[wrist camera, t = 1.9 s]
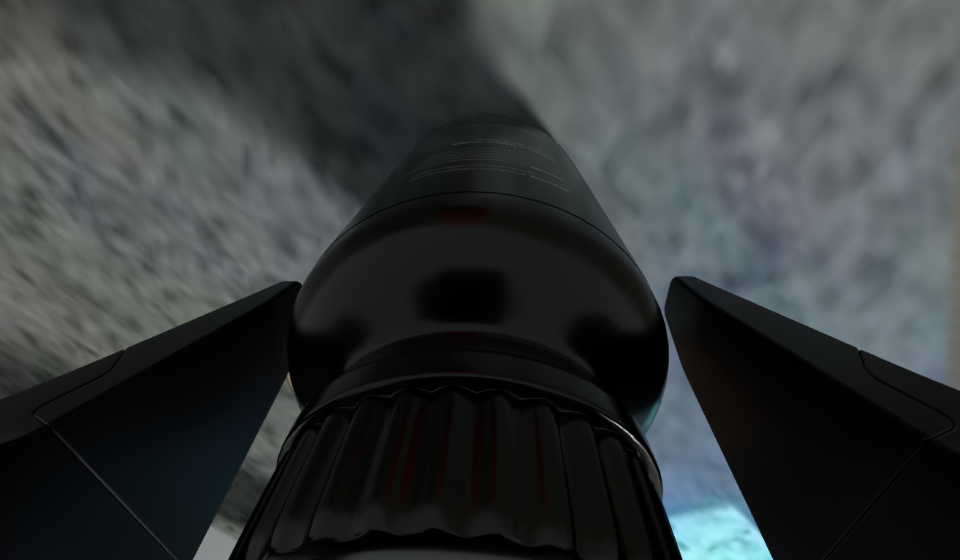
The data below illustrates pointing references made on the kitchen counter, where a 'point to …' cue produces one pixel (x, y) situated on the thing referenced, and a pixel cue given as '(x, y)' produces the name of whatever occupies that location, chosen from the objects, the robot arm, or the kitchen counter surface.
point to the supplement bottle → (472, 371)
